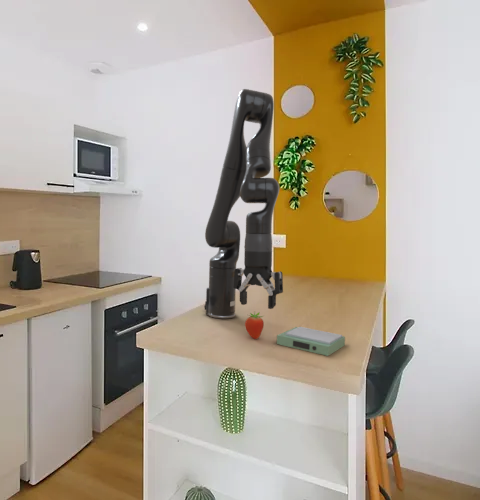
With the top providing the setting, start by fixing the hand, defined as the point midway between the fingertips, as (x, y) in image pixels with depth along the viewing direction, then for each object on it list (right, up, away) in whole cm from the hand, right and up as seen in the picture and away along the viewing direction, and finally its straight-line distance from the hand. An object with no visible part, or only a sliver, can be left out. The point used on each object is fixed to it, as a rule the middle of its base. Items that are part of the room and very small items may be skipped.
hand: (257, 306), depth 119 cm
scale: (+14, -10, -4) cm, 17 cm away
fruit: (-1, -10, +1) cm, 10 cm away
